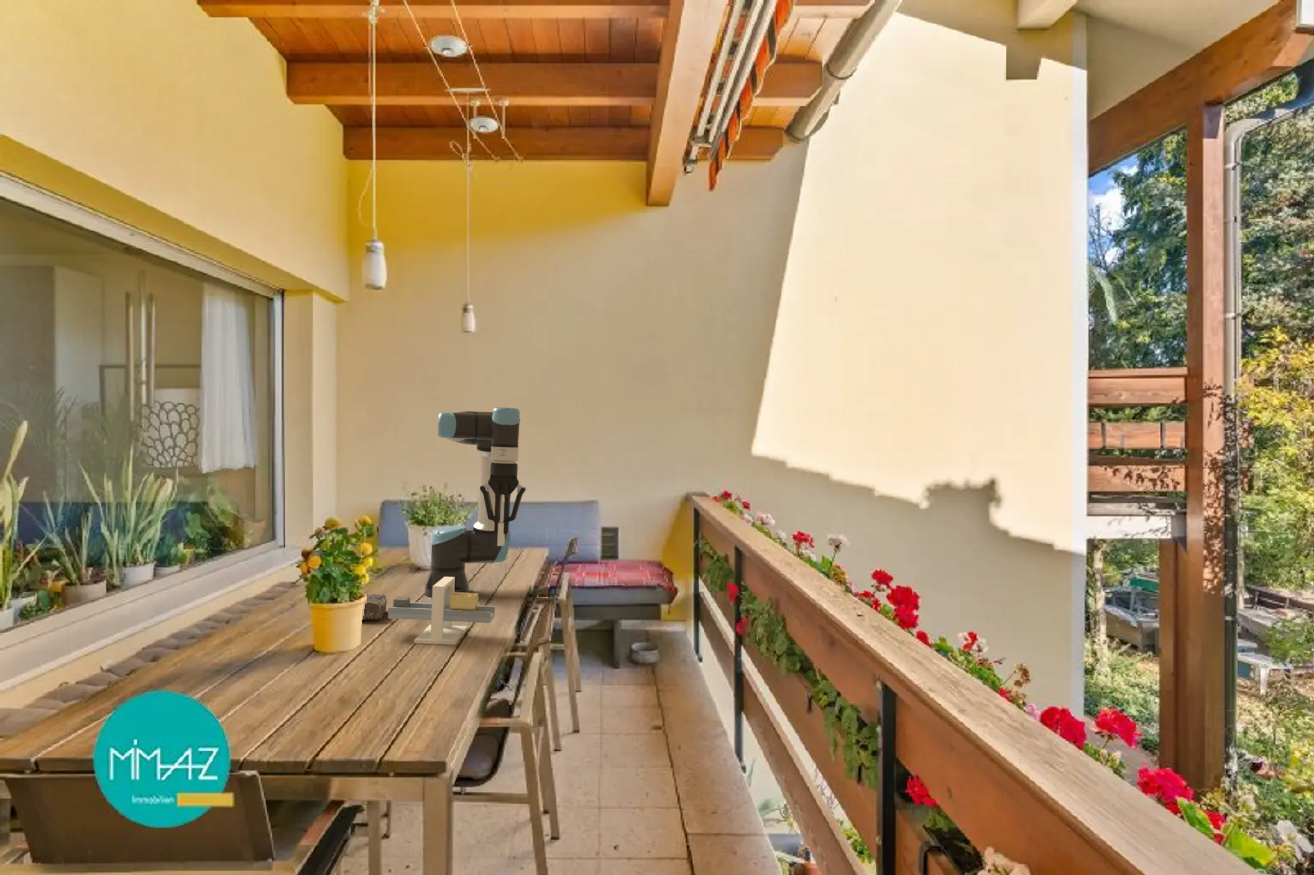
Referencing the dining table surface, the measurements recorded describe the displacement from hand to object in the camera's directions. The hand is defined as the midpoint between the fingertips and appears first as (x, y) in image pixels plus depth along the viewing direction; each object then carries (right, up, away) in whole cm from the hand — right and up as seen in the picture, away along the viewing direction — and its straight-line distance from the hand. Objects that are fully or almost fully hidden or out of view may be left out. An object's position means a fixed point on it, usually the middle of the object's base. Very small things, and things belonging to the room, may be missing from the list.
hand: (500, 545), depth 194 cm
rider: (-10, -19, 0) cm, 22 cm away
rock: (-45, -25, +16) cm, 54 cm away
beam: (-16, -20, 0) cm, 26 cm away
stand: (-17, -26, 0) cm, 31 cm away
